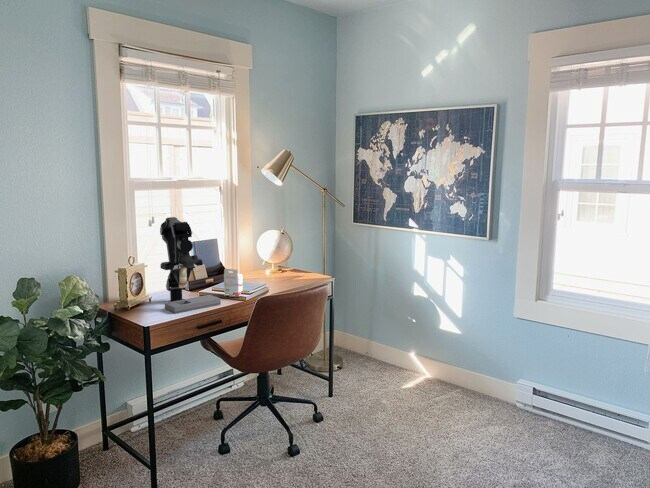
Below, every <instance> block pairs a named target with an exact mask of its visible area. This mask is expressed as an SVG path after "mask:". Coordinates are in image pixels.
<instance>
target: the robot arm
mask: <svg viewBox="0 0 650 488" xmlns="http://www.w3.org/2000/svg"><path fill="white" fill-rule="evenodd" d="M159 229H160V230H159V233H160V236H161V239H162V241H163V242H164V243H165V244H166V251H167V257H168V261H165V262H161V263H160V269H161V270H164V271H170V272H169V273H168V276H167V279H166V283H165V288H166V290H167V291H168V292H169V295H170V296H169V301H167V303H168V302H173V301H179V300H184V299H185V298H183V290H186V289H187V287H186V288H179V284H178V283H179V270H180V269H178V268H180V267H183V268H187V282H188V281H189V278H190V276H191V273H192V271H193V270H194V269H196V267H199V266H203V265H204V264H203V262H204V261H203V260H202V259H201V258H199V257H198V255H196V254H193V255H191V254H190V252H191V251H192V250H193V248H194V245H193V242H192V241H191V240H190V239H189V238H192V237H193V236H192V235H193V231H192V229H191V226H190V224H189V223H188V222H187V221H180V219H178V218H177V217H175V216H171V217H165V221H164V222H162V223H161V224H160V228H159Z"/></svg>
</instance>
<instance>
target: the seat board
mask: <svg viewBox="0 0 650 488" xmlns="http://www.w3.org/2000/svg"><path fill="white" fill-rule="evenodd" d="M183 299H184V300H179V301H173V302H168V301H167V302H165V303H164V310H165V311H168V312H170V313H172V314H175V315H176V314H182V313H187V312H191V311H196V310H201V309H205V308H209V307H215V306H220V305H221V303H222V301H221V298H220V297H218V296H214V295H211V294H207V295H202V296H201V295H200V296H195V297H190V298H183Z"/></svg>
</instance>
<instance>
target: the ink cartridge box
mask: <svg viewBox="0 0 650 488" xmlns="http://www.w3.org/2000/svg"><path fill="white" fill-rule="evenodd" d="M243 277H244V276H243V273H239V270H238V269H234V268H224V271H223V285H224V286H223V287H224V288H223V290H224V293H225V294H229V295H235V296H239V295H240V294H241V293H242V291H243V292H244V284H243V281H244V279H243ZM225 294H224V295H225Z"/></svg>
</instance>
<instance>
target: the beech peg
mask: <svg viewBox="0 0 650 488" xmlns="http://www.w3.org/2000/svg"><path fill="white" fill-rule="evenodd" d="M178 269H180V270H179V283H178V284H179V288H186V289H187V287H188V286H187V284H188V281H187V268H184V267H179V268H178Z"/></svg>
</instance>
